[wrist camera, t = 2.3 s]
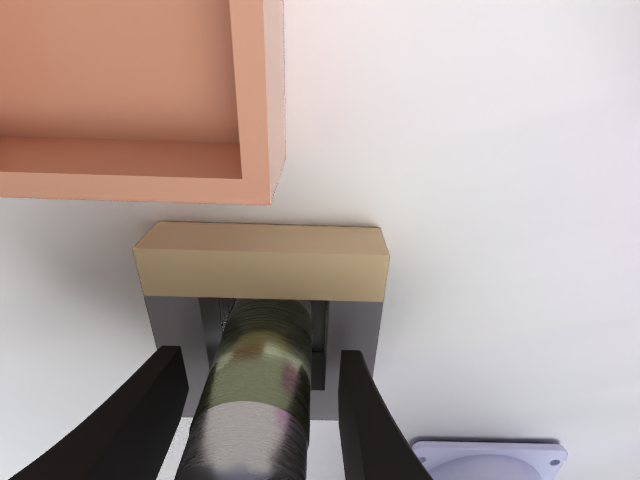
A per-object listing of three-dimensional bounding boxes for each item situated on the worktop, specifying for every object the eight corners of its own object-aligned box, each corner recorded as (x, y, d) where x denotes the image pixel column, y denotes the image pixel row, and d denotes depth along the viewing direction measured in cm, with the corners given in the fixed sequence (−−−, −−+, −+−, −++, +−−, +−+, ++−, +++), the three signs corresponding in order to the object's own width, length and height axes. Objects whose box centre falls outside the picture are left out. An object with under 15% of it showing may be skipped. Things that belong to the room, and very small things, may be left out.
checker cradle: (361, 381, 17) (366, 421, 15) (189, 377, 16) (173, 416, 15) (380, 227, 13) (390, 255, 11) (158, 221, 13) (132, 248, 11)
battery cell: (312, 342, 15) (305, 559, 9) (236, 340, 15) (172, 557, 9) (313, 279, 14) (308, 485, 7) (229, 277, 14) (146, 482, 7)
